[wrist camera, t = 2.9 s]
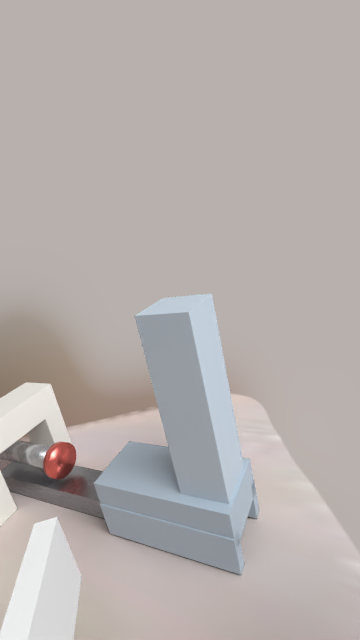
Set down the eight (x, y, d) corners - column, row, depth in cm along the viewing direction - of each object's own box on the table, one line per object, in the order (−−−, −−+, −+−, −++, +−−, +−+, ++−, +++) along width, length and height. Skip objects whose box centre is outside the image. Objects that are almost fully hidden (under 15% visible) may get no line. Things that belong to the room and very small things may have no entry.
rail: (4, 489, 35) (-3, 474, 35) (27, 469, 38) (21, 454, 37) (218, 552, 24) (213, 531, 23) (231, 517, 26) (226, 497, 26)
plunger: (-5, 471, 34) (-17, 445, 34) (20, 450, 37) (10, 426, 36) (56, 487, 30) (44, 458, 29) (80, 462, 33) (70, 435, 32)
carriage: (109, 533, 27) (37, 326, 22) (143, 484, 32) (89, 302, 26) (241, 575, 22) (186, 317, 17) (259, 510, 26) (219, 289, 21)
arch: (-28, 517, 32) (-66, 439, 30) (50, 448, 41) (25, 382, 38) (-1, 527, 30) (-40, 444, 28) (75, 452, 39) (50, 383, 36)
